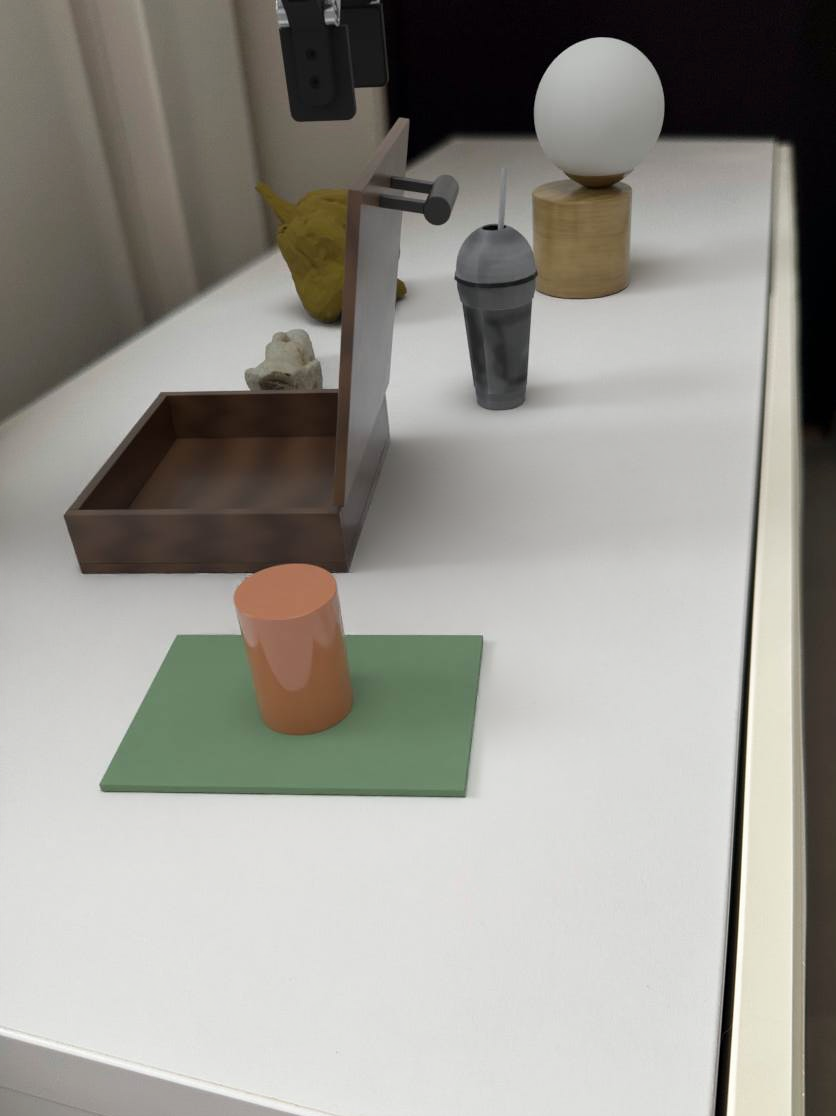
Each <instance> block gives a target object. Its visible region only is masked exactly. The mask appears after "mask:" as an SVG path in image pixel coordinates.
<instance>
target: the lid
mask: <svg viewBox="0 0 836 1116" xmlns="http://www.w3.org/2000/svg"><path fill="white" fill-rule="evenodd" d="M409 132H410V118H406V117H398V118H397V120H396V121H395V123H394V124H393V125H392V126H391V128H390V129H389V131H388V132H387V134H386V136H385V137H384V138H383V140H382V141H381V142H380V144H379V145H378V146H377V148H376V150H375V151H374V152H373V153H372V155H371V157H370V158H369V159H368V161H367V162H366V164H365V165H364V166H363V168H362V169H361V171H360V172H359V174H358V175H357V176H356V178H355V179H354V181H353V182H352V184H351V185H350V186H349V187H348V188H347V189H348V197H347V218H346V239H345V260H344V281H343V303H342V311H341V325H340V327H341V328H340V346H339V347H340V349H339V368H338V369H339V370H338V388H337V389H338V408H337V429H336V450H335V471H334V492H333V506H338V507H344V506H345V504H346V501H347V498H348V495H349V493H350V490H351V487H352V484H353V481H354V479H355V476H356V473H357V470H358V468H359V465H360V462H361V459H362V457H363V454H364V451H365V448H366V445H367V443H368V440H369V437H370V434H371V432H372V429H373V426H374V423H375V421H376V418H377V415H378V412H379V409H380V407H381V404H382V401H383V398H384V396H385V393H387V390H388V387H389V384H390V377H391V364H392V363H391V362H392V350H393V339H394V326H395V314H396V313H395V312H396V301H397V298H396V288H397V278H398V275H399V274H398V273H399V261H400V258H399V250H400V251H401V238H402V237H401V236H402V223H403V212H408V213H413V214H414V213H415V214H421V215H423V217H424V219H425V220H426V221H427V222H428V223H429V224H431V225H433V226H442V225H445V224H446V223H447V222H449V220H450V218H451V216H452V212H453V210H454V206H455V204H456V201H457V199H458V196H459V192H460V186H459V183H458V180H457V179H456V178H455V177H454V176H453V175H450V174H441V175H439V176H437V177H436V178H435V180H434V181H431V180H425V179H417V178H410V177H406V172H407V171H406V170H407V159H408V158H407V157H408V144H409V134H410V133H409ZM405 192H410V193H411V192H413V193H419V194H426V195H427V197H426V199H420V198H413V197H406V196H405Z"/></svg>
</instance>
